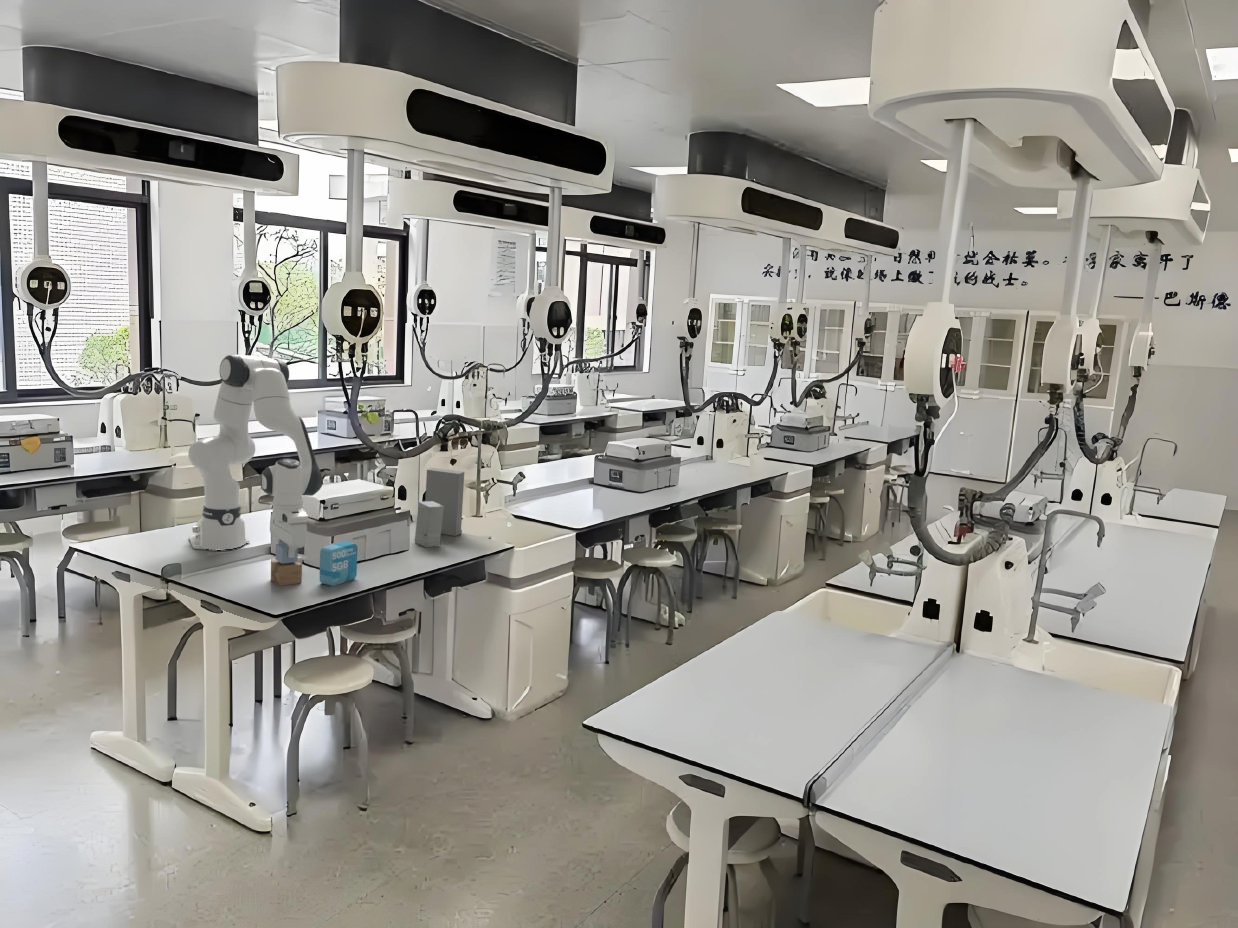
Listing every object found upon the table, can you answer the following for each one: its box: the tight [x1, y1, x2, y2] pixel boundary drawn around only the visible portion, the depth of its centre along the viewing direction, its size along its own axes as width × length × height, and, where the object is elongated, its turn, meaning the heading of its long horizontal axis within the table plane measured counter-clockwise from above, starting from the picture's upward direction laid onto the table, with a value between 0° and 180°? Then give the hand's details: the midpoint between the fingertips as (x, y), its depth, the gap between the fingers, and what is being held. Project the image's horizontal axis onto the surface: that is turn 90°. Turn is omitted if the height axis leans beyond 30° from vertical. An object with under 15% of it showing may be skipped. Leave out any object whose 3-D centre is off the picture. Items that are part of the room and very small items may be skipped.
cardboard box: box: [270, 560, 303, 587], centre depth 288 cm, size 7×7×6 cm
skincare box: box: [414, 501, 444, 548], centre depth 343 cm, size 8×7×16 cm
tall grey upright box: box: [424, 467, 465, 537], centre depth 361 cm, size 14×6×25 cm, turn 77°
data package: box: [318, 541, 358, 587], centre depth 291 cm, size 12×4×12 cm, turn 153°
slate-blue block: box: [275, 543, 299, 564], centre depth 287 cm, size 5×5×5 cm
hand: (286, 554), depth 287 cm, fingers closed on slate-blue block, 5 cm apart
